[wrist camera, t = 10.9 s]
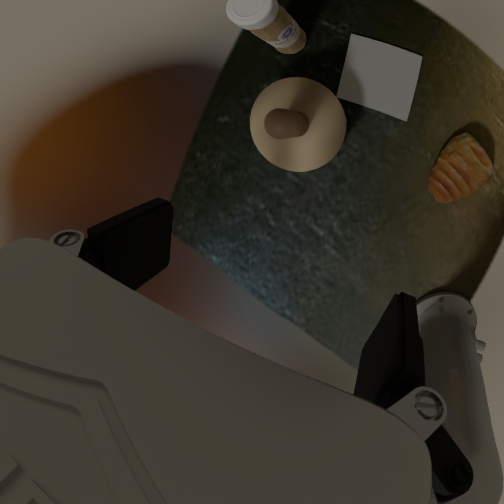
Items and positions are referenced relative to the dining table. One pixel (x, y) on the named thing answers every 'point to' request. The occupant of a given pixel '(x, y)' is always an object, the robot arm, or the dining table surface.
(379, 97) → the mat
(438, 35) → the dining table surface
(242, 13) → the sprinkles bottle
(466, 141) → the pastry
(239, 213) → the dining table surface
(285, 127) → the lid
